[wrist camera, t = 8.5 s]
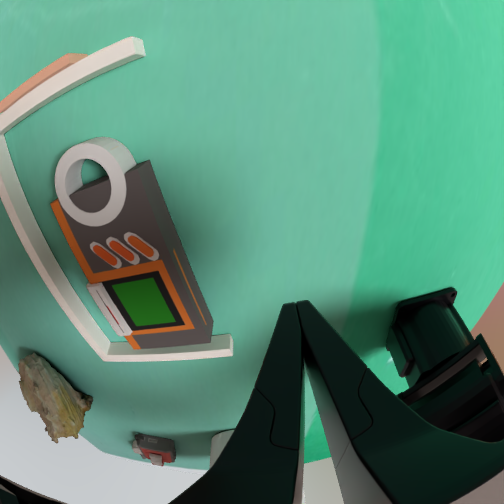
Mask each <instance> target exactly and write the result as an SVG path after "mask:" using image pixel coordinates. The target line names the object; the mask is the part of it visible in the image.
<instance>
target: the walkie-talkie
mask: <svg viewBox="0 0 504 504" xmlns="http://www.w3.org/2000/svg"><path fill="white" fill-rule="evenodd" d="M135 439H136V440H135V441H133V446H132V449H133V450H134V452H135V453H138V454H140V455H141V456H142V458H143V459H146V458H148V459H151V463H152V464H154V465H159V466H163V465H164V462H167V463H171V462H175V459H176V452H175V447H174V441H173V440H171V439H166V438H160V437H155V436H150V435H145V434H136V435H135Z"/></svg>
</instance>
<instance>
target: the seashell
mask: <svg viewBox="0 0 504 504" xmlns="http://www.w3.org/2000/svg"><path fill="white" fill-rule="evenodd" d="M18 365H19V374H20V376H21V381H19V383H20V388H21V391H22V394H23V396H24V399H25V400H26V401H27V405H28V407H29V408H30V410H31V411H32V412H33V411H35V412H38V413H39V414H40V417H41V418H42V420H43V422H44V423H45V424H46V428H45V431H48V435H49V436H50V437H51V438H52V441H55V442H56V443H58V439H57V438H60V437H66V438H67V437H69V436H73V437H75V439H77V438H78V432H79V430H80V429H81V428H83V427H84V425H83V422H84V415H85V411H89V410H90V409H91V404H92V402H93V397H91V396H89V395H84V394H83V393H81V392H77V391H75V390H74V389H73V388H72V387H71V385H70V384H69V383H68V382H67V381H66V380H65V379H64V377H63V376H62V375H61V374H60V373H58V372H56V370H55V369H53V368H52V367H51V366H50V364H49V363H48V362H46V361H45V359H44V358H42V357H40V356H37V355H36V354H35V353H33V354H32V355H28V356H26V357H25V358H24V359H20V362H19V364H18Z"/></svg>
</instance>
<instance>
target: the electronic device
mask: <svg viewBox="0 0 504 504" xmlns="http://www.w3.org/2000/svg"><path fill="white" fill-rule="evenodd" d="M85 159H91V160H94V161H96V162H98V163H99V164H100V165H101V166H102V167H103V168H104V169H105V170H106V172H107V174H108V175H107V176H104V177H102V178H99V179H97V180H94V181H92V182H89V183H87V184H85V185H83V183H82V179H81V169H82V165H83V163H84V161H85ZM108 179H109V180H108ZM106 180H107V181H106ZM103 181H104V182H103ZM101 182H102V183H101ZM98 183H99V184H98ZM93 185H94V186H93ZM88 187H89V188H88ZM55 188H56V193H57V196H58V198H57V199H56V200H54V201H53V202H52V203H50V205H51V207H52V210H53V212H54V214H55V216H56V219H57V221H58V223H59V225H60V227H61V229H62V231H63V234H64V236H65V238H66V240H67V242H68V244H69V246H70V248H71V250H72V252H73V253H74V255H75V257H76V259H77V261H78V263H79V265H80V267H81V268H82V270H83V272H84V274H85V275H86V277H87V279H88V281H89V282H88V284H87V285H86V287H87V289H88V291H89V292H90V294H91V296H92V297H93V299H94V300H95V302H96V304H97V305H98V307H99V308H100V310H101V311H102V313H103V314H104V316H105V317H106V319H107V320H108V322H109V323H110V325H111V326H112V328H113V329H114V330H115V332H116V333H117V335H118V336H124V337H125V338H126V339H127V341H128V342H129V344H130V345H131V346H132V348H133V349H134V350H136V349H151V348H165V347H176V346H187V345H197V344H206V343H211V337H212V329H213V319H212V316H211V314H210V312H209V309H208V307H207V305H206V302H205V300H204V298H203V295H202V293H201V291H200V288H199V286H198V284H197V281H196V279H195V276H194V274H193V271H192V269H191V266H190V264H189V261H188V259H187V256H186V254H185V251H184V249H183V246H182V244H181V241H180V239H179V237H178V234H177V232H176V229H175V227H174V224H173V222H172V219H171V216H170V214H169V211H168V209H167V206H166V203H165V201H164V198H163V196H162V193H161V190H160V187H159V185H158V182H157V179H156V177H155V174H154V171H153V168H152V165H151V162H150V160H148V161H145V162H142V163H139V164H136V162H135V160H134V158H133V156H132V154H131V153H130V151H129V150H128V149H127V148H126V147H125V146H124V145H123V144H122V143H120V142H119V141H117V140H115V139H112V138H109V137H96V138H93V139H90V140H88V141H85V142H83V143H80V144H78V145H75V146H73V147H71V148H70V149H69V150H67V151H66V152H65V153H64V154H63V156H62V157H61V159H60V161H59V162H58V165H57V168H56V173H55ZM86 188H87V189H86Z"/></svg>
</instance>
